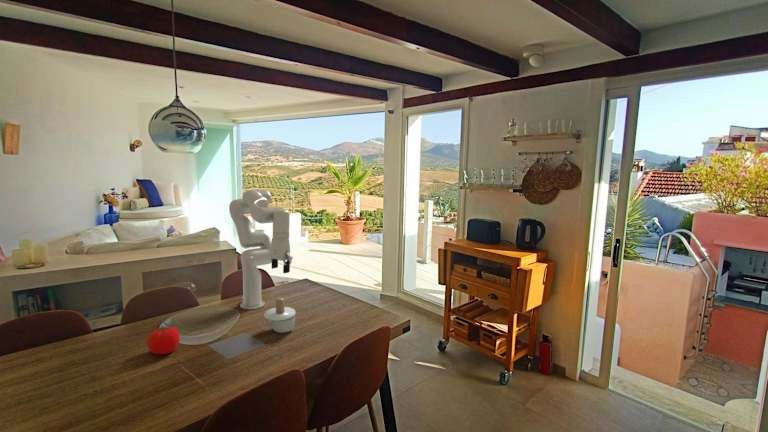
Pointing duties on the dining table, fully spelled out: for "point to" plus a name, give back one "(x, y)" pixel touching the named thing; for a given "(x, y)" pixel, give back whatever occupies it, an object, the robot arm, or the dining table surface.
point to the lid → (280, 311)
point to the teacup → (282, 325)
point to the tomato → (163, 340)
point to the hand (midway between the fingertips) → (280, 270)
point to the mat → (236, 345)
